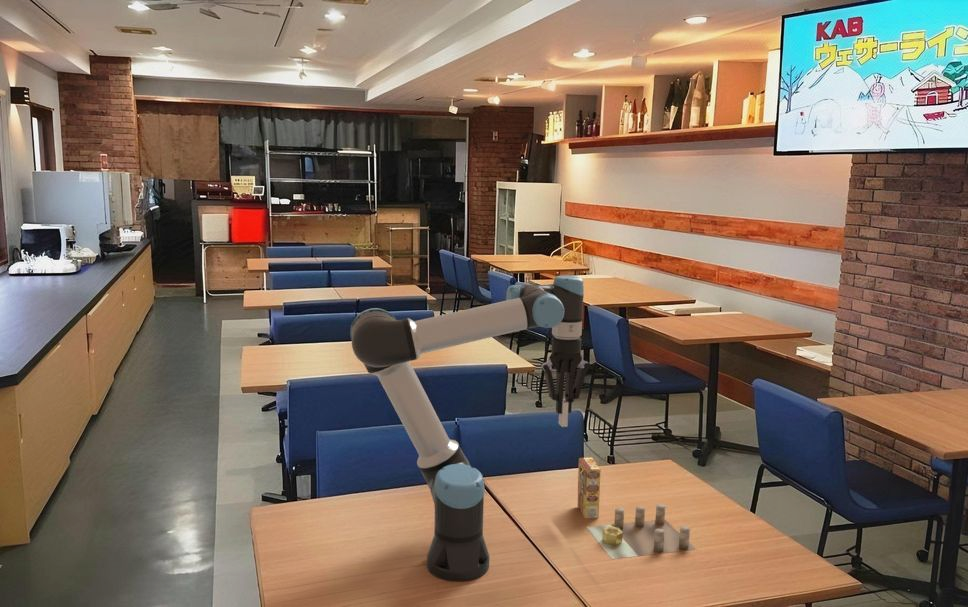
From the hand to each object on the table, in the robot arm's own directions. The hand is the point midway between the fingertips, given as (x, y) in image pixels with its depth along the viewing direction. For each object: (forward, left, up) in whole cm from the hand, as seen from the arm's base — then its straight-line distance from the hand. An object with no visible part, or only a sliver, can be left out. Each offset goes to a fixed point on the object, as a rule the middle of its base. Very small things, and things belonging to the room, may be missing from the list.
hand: (562, 424), depth 192 cm
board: (+19, -11, -29) cm, 36 cm away
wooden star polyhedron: (+11, -11, -28) cm, 32 cm away
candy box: (+11, +7, -30) cm, 32 cm away
